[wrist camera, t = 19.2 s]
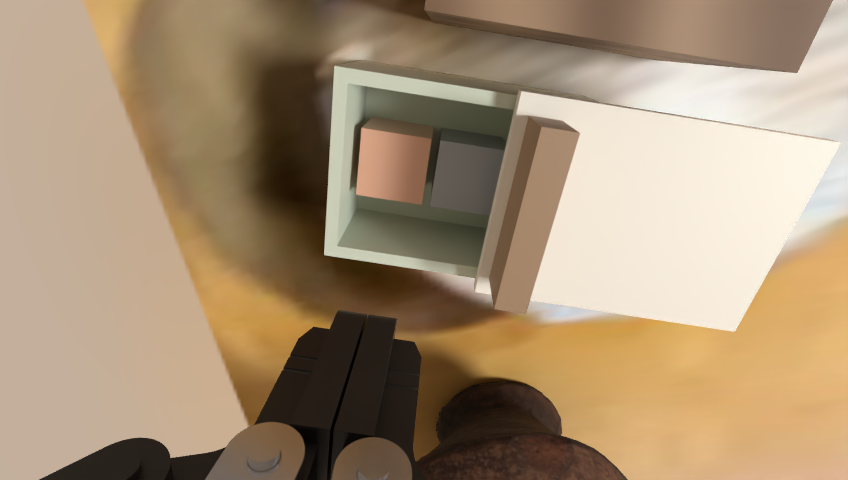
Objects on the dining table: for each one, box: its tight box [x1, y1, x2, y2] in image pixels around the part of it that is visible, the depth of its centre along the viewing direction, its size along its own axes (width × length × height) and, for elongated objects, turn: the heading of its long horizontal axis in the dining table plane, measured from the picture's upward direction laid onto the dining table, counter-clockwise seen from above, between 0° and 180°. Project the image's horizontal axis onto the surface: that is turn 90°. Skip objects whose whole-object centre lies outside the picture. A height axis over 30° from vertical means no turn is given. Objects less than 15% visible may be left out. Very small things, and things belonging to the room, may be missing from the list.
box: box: [324, 60, 598, 278], centre depth 26 cm, size 14×10×7 cm
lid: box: [474, 89, 841, 332], centre depth 21 cm, size 15×11×4 cm
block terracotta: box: [356, 117, 434, 205], centre depth 27 cm, size 4×4×4 cm
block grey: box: [430, 127, 506, 215], centre depth 27 cm, size 4×4×4 cm
